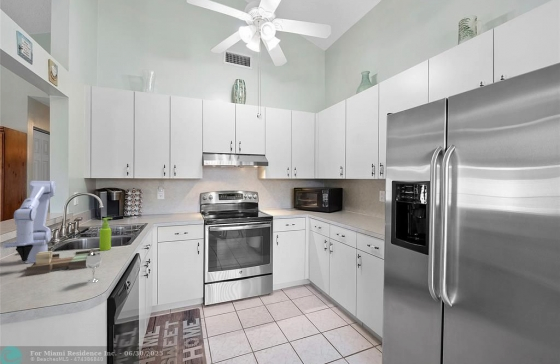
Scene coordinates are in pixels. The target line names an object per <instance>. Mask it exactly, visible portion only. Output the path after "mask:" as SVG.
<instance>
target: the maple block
mask: <svg viewBox="0 0 560 364" xmlns="http://www.w3.org/2000/svg"><path fill="white" fill-rule="evenodd" d="M52 254H53V250H48V251H45V252H39V253H38V254H36V265H40V264H48V263H50V262H51V261H52Z"/></svg>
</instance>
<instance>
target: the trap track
mask: <svg viewBox="0 0 560 364" xmlns="http://www.w3.org/2000/svg"><path fill="white" fill-rule="evenodd" d="M94 251H95V249H94V248H91V249H90V250H81V251H75V255H74V256H71V257H70V256H69V257H61V258H60V253H52V261H51V262H50V263H48V264H40V265H36V262H33V263H32V264H31V266H26V268H25V269H26V270H25V271H26V277H27V276H28V277H29V276H33V275H42V274H43V275H44V274H49V273H51V272H60V271H67V270H68V271H71V270H78V269H86V268H87V267H86V258H87V255H88V254H91V253H95V252H94ZM87 269H88V268H87Z"/></svg>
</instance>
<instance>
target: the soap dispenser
mask: <svg viewBox="0 0 560 364" xmlns="http://www.w3.org/2000/svg"><path fill="white" fill-rule="evenodd" d="M110 219H111V220H112V219H113V217H104V218H101V220H103V223H102V224H101V228H100V229H99V251H101V252H104V251H110V250H111V249H112V228H110V224H109V222H108V220H110Z"/></svg>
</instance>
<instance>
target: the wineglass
mask: <svg viewBox="0 0 560 364" xmlns="http://www.w3.org/2000/svg"><path fill="white" fill-rule="evenodd" d="M102 262H103V261H102V255H101V253H100V252H94V253H91V254H88V255H87V258H86V267H87V269H90V270H92V278H91V279H88V280H87V281H86V282H87V283H88V284H93V283H96V282H98V281H100V278H95V272H96V270H95V269H96V268H99V267H100V266H101V264H102Z"/></svg>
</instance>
